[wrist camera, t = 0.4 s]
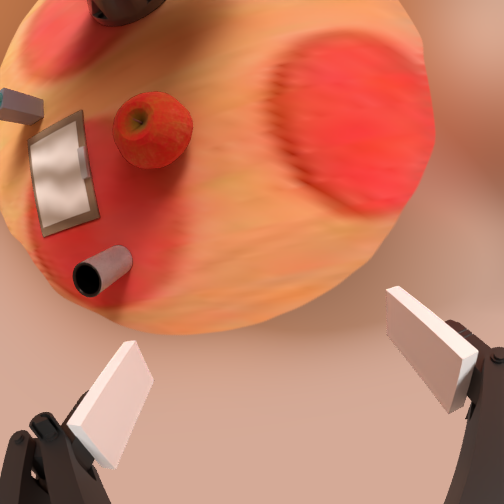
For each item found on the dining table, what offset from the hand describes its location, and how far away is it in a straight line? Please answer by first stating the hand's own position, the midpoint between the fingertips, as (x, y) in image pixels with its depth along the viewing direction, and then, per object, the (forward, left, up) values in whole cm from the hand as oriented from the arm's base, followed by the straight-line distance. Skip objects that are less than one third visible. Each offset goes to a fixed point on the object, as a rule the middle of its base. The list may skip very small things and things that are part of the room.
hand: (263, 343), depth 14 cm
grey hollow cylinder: (-1, -21, -27) cm, 34 cm away
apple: (-17, -10, -27) cm, 34 cm away
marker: (-31, -33, -27) cm, 53 cm away
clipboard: (-17, -29, -27) cm, 43 cm away
